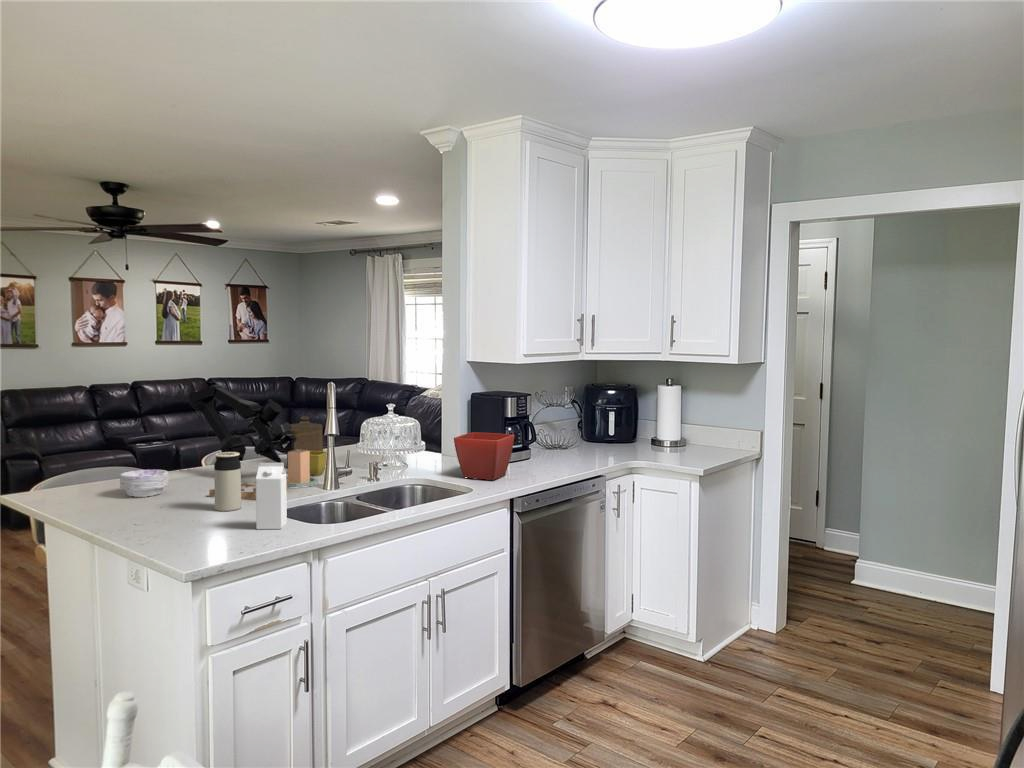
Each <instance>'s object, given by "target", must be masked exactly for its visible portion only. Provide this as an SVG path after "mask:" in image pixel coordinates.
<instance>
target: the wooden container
mask: <svg viewBox="0 0 1024 768" xmlns="http://www.w3.org/2000/svg"><path fill="white" fill-rule="evenodd" d="M309 420H310V417H309V416H308V415H303V416H301V417H300V422H299V423H292V424H291V423H289V424H290V425H291V430H290V432H287V433H286V435H290V434H294V435H295V436H296V438H297V439H296V441H295V443H294V449H295V450H297V449H299V450H308V451H324V440H323V438H324V437H323V435H324V434H323V424H322V423H315V422H310V421H309ZM286 467H287V469H288V454H287V453H286Z"/></svg>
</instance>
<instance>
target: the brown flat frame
mask: <svg viewBox="0 0 1024 768" xmlns="http://www.w3.org/2000/svg"><path fill="white" fill-rule="evenodd" d="M243 486H244V487H253V488H252V491H247V490H246V491H245V490H244V491H241V500H246V501H247V500H249V501H256V483H255V484H254V483H252V484H251V483H248V482H241V488H244V487H243ZM254 486H255V487H254ZM288 487H289V477H288V476H286V488H288ZM288 489H289V488H288ZM208 494H209V495H208V496H209V497H210V498H215V488H210V489H209V493H208Z"/></svg>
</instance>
